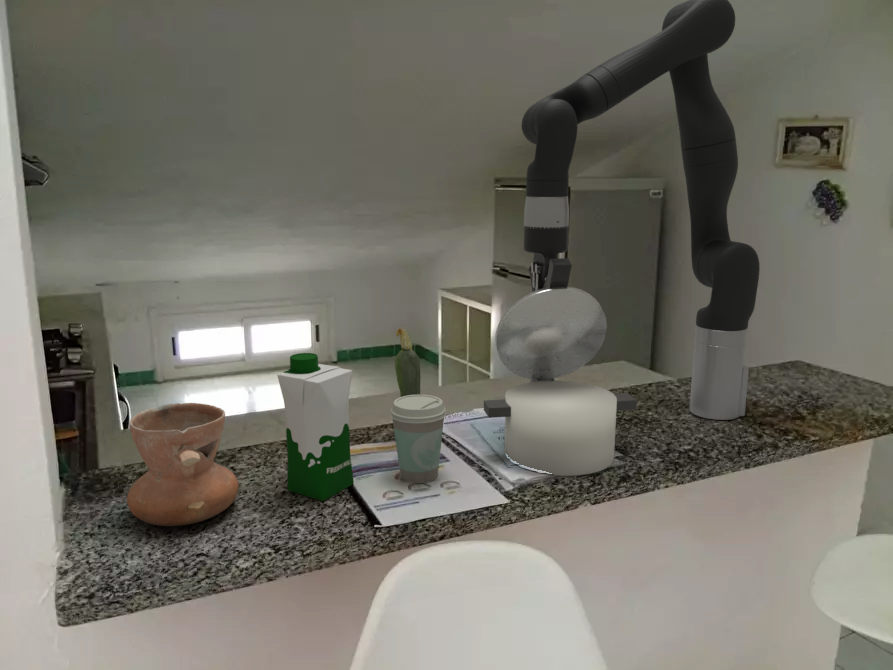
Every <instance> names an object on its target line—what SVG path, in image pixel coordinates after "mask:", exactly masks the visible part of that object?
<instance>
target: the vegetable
mask: <svg viewBox="0 0 893 670" xmlns="http://www.w3.org/2000/svg"><path fill="white" fill-rule="evenodd" d="M395 336H396V338H398V337H399V343H400V346H401V347H400V348H401V350H399V351H398V353H397V354H396V355H395V358H394V359H395V360H394V369H395V375H396V381H397V385H398V388H399V394H400V397H403V396H407V395H421V366H420V365H421V363H420V357H419V356H418V354H417V353H416V352H415V350H414V349H413V344H412V341H411V338H410V337H409V333H407V331H406V330H404V328H398V329H397V330H396V332H395ZM400 397H399V398H400Z"/></svg>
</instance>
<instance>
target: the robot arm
mask: <svg viewBox="0 0 893 670" xmlns="http://www.w3.org/2000/svg"><path fill="white" fill-rule="evenodd" d="M735 12H736V11H735V9H734V7H733V5H732V3H731V2H730V1H729V0H686V1H683V2H680V3H679V4H677V5H675V6H673V7H672V8H671V9H669V11H668V12H667V13H666V15H665V16H664V19H663V22H662V26H661V31H659V32H658V33H657V34H655V35H653V36H651V37H650V38H648V39H646V40H644V41H643V42H640V43H639V44H637V45H634V46H633V47H631V48H629V49H627V50H624V51H622V52H621V53H619V54H616V55H615V56H613V57H611V58H609V59H608V60H606V61H603V63H601V64H599V65H598V66H595V67H594V68H592V69H590V71H587V73H585V74H583V75H582V76H580V77H579V78H578V79H576V80H574V81H573V82H572V83H571V84H568V85H567V86H565V87H562V88H561V89H558V90H557V91H555V92H553V93H551V94H549V95H547V96H545V97H543V98H541V99H540V100H538V101H536V102H534V103H533V104H532V105H530V107H528V109H527V110H526V111H525V112H524V114H523V117H522V120H521V131H522V133H523V136H524V137H525V138H526V140H527V141H529V143H531V144H533V145H536V146H535V153H534V159H533V160H532V162H530V163H529V164H528V166H527V169H526V177H525V178H526V179H525V180H526V181H525V183H526V185H525V187H526V188H525V203H524V212H523V213H524V215H523V251H524V252H526V253H531V254H533V259H532V260H533V261H532V262H531V264H530V265H531V266H529V267H528V273H529V280H530V287H531V293H532V292H534V291H536V290H540V289H543V288H545V287H546V281H547V275H548V269H549V263H550V259H558V254H563V253H566V252H567V251H568V249H569V225H570V222H569V220H570V206H569V180H570V178H569V177H570V176H569V171H570V170H569V169H570V166H571V163H572V159H573V155H574V151H575V147H576V141H577V136H578V125H579V124H581V123H583V122H585V121H589V120H593V119H595V118H597V117H599V116H602V115H603V114H604V113H606V112H607V111H609V110H611V109H613V108H614V107H615V106H617V105H619V104H620V103H621V102H624V100H626V99H627V98H629V97H631V96H632V95H634V94H635V93H637V92H638V91H640V90H641V89H642V88H644V87H646V86H647V85H648V84H651V83H652V82H653V81H655V80H656V79H658V78H660V77H661V76H663V75H665V74H666V73H669V77H670V80H671V85H672V90H673V94H674V96H673V97H674V103H675V111H676V116H677V123H678V130H679V140H680V150H681V156H682V165H683V171H684V176H685V184H686V192H687V193H686V194H687V201H688V208H689V209H688V210H689V217H690V219H689V220H690V244H691V245H690V252H691V255H690V257H691V267H692V271H693V275H694V276H695V278H696V281H698V283H700V284H701V285H703V286H705V287H708V288H711V295H710V301H709V303H708V304H707V306H705V307H702V308H699V309H698V310H697V312H696V317H695V319H696V320H695V331H694V346H693V356H692V357H693V359H692V372H691V373H692V374H691V385H690V387H691V388H690V398H689V412H690V413H692V414H693V415H695V416H697V417H700V418H704V419H708V420H709V419H710V420H717V421H718V420H719V421H720V420H721V421H722V420H723V421H728V420H735V419H737V418H739V417H745V415H746V404H747V396H748V395H747V394H748V393H747V392H748V385H749V384H748V382H749V369H750V368H749V367H747V366H746V365H745V363H746V354H747V353H746V351H747V339H748V331H749V330H748V329H749V321H750V319H751V317H752V315H753V313H754V310H755V306H756V300H757V294H758V288H759V287H758V286H759V279H760V278H759V277H760V268H761V266H760V258H759V255H758V253H757V251H756V250H755V249H754V247H752V246H751V245H749V244H747V243H743V242H740V241H735V240H734V241H732V239H731V236H730V232H729V224H728V203H729V200H730V196H731V194H732V191H733V188H734V186H735V181H736V178H737V174H738V171H739V169H738V168H739V158H738V157H739V155H738V149H737V148H738V147H737V138H736V132H735V131H736V130H735V128H734V125H733V122H732V120H731V117H730V116H729V114H728V112H727V110H726V108H725V107H724V105H723V103H722V102H721V99H720V98H719V96H718V94H717V93H716V91H715V88H714V86H713V84H712V80H711V75H710V69H709V68H710V66H709V59H708V58H709V57H708V54H710V53H713V52H716V51H717V50H719V49H720V48H722V47H723V46H725V44H726V43H727V42H728V41H729V39H730V38H731V36H732V34H733V32H734V30H735V27H736V26H735V25H736V13H735Z"/></svg>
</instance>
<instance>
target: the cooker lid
mask: <svg viewBox="0 0 893 670" xmlns="http://www.w3.org/2000/svg"><path fill="white" fill-rule="evenodd" d="M572 266H573V264H572V262H571V261H570V258H568V257H566V258H564V257H562V258H561V257H560V258H557V259H550V263H549V269H548V275H547V281H546V287H545V288H543V289H540V290H536V291H534V292H532V291H531V292H530V293H527V294H526V295H524V296H523V297H521V298H519V299H518V300H516V301H515V302H514V303H513V304H512V305H511V306H510V307H509V308H508V309H507V310H506V311H505V312H504V313H503V315H502V316H501V318H500V320H499V323H498V324H497V327H496V331H495V338H494V339H495V340H494V341H495V349H496V352H497V354H498V356H499V359H500V362H502V364H503V365H504V366H505V367H506V368H507V370H508V371H510V372H512V373H513V374H515V375H517V376H520V377H522V378H526V379H529V382H537V381H555V379H558V378H562V377H565V376H567V375H570V374H572V373H574V372H575V371H578V370H579V369H581V368H582V367H584V366H585V365H586V364H587V363H589V362H590V361H591V360H593V358H594V357H595V356H596V355H597V354H598V352H599V351H600V349H601V348H602V346H603V343H604V342H605V338H606V336H607V329H608V322H607V317H606V314H605V312H604V310H603V308H602V305H600V303H599V302H598V300H597V299H596V298H595V297H594V296H592V294H590V293H588V292H587V291H584V290H582V289H580V288H578V287H577V288H576V287H574V286H573V287H572V286H569V281H570V275H571V270H572Z"/></svg>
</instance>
